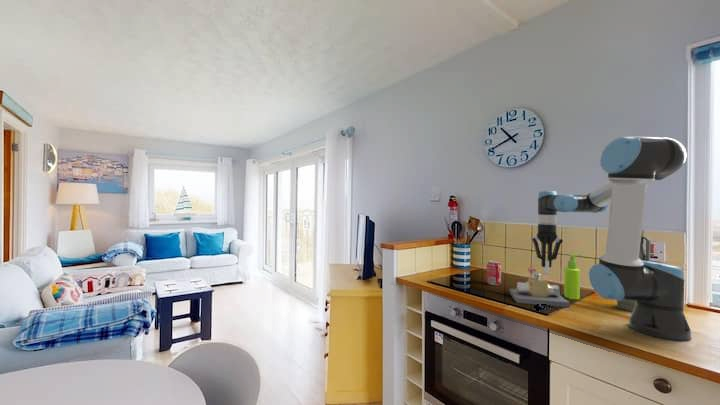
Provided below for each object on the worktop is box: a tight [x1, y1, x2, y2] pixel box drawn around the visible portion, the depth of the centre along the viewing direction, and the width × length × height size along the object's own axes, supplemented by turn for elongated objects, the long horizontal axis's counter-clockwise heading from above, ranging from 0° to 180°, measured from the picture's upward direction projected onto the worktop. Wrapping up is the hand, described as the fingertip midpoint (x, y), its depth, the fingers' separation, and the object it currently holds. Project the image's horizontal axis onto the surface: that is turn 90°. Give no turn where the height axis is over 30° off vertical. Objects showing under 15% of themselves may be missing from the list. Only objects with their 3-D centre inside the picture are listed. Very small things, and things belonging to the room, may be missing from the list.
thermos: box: [616, 228, 652, 312], centre depth 129 cm, size 9×12×35 cm
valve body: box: [516, 277, 561, 298], centre depth 140 cm, size 6×16×8 cm, turn 75°
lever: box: [527, 267, 542, 278], centre depth 145 cm, size 13×3×2 cm, turn 165°
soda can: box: [486, 260, 502, 286], centre depth 166 cm, size 7×7×12 cm
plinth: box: [509, 288, 571, 308], centre depth 140 cm, size 16×20×2 cm
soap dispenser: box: [563, 253, 583, 300], centre depth 144 cm, size 6×7×20 cm
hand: (546, 274), depth 147 cm, fingers closed
